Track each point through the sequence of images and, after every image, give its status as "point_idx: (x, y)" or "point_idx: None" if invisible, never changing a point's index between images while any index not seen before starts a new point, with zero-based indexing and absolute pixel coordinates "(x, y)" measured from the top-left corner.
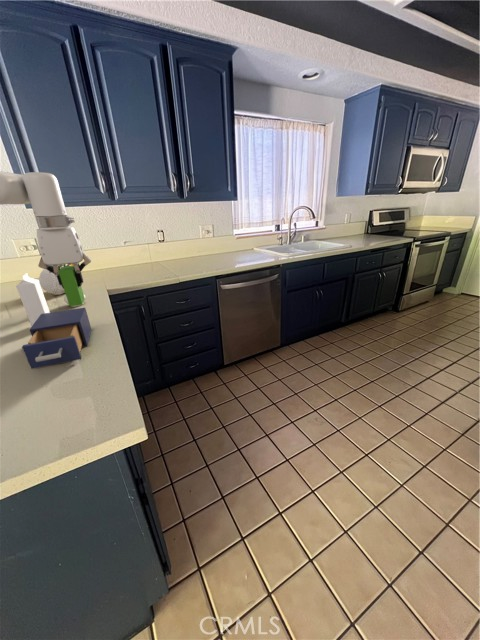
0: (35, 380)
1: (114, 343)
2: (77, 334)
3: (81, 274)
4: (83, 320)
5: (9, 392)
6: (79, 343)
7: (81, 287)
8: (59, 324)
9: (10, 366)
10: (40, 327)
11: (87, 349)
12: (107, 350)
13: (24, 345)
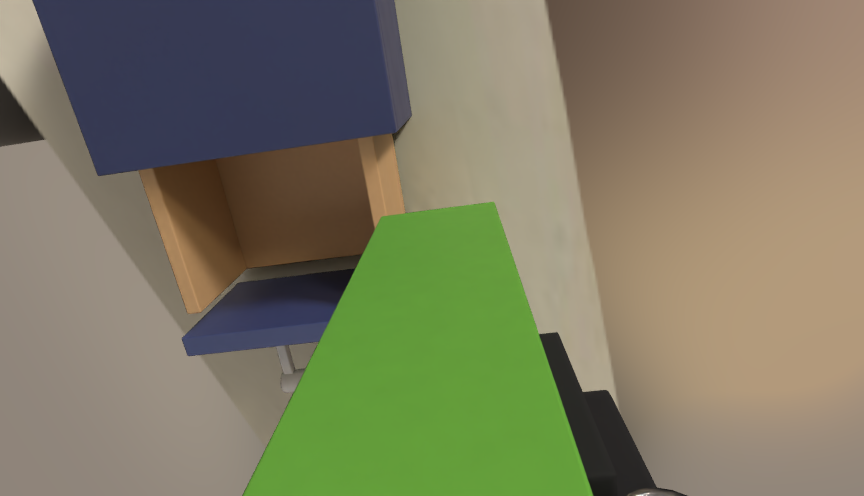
0: (294, 355)
1: (554, 128)
2: (387, 179)
3: (647, 471)
4: (381, 11)
5: (242, 399)
6: (396, 187)
7: (508, 249)
8: (264, 145)
9: (123, 222)
10: (154, 160)
11: (422, 157)
12: (526, 199)
13: (192, 346)
